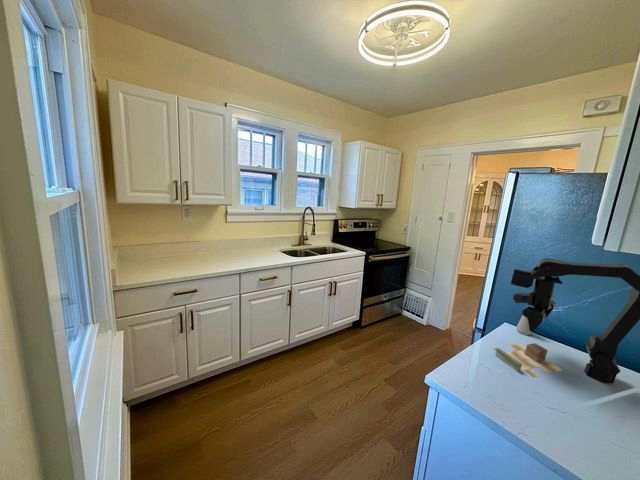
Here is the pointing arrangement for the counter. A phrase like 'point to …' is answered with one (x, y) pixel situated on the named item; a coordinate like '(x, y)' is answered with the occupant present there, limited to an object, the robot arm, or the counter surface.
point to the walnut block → (536, 352)
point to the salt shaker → (523, 326)
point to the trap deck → (524, 360)
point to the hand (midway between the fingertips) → (534, 327)
